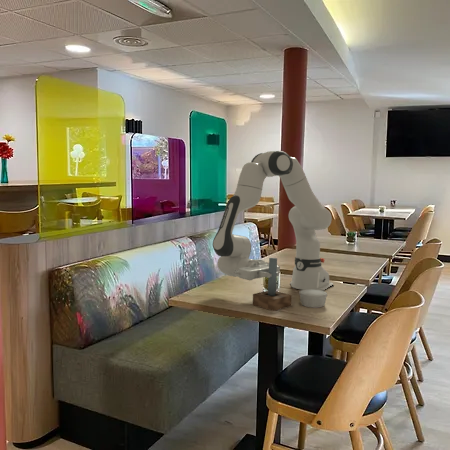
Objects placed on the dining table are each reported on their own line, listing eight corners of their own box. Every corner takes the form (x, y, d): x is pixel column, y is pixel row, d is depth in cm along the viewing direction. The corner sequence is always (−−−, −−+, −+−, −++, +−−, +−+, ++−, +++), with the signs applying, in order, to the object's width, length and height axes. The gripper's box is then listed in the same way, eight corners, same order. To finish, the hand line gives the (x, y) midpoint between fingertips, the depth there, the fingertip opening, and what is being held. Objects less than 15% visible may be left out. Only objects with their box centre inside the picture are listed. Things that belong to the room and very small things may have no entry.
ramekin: (296, 301, 194) (296, 289, 194) (322, 301, 195) (322, 289, 195) (302, 308, 183) (302, 295, 183) (330, 308, 184) (330, 295, 183)
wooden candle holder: (270, 300, 194) (270, 289, 194) (291, 305, 186) (291, 295, 186) (252, 305, 186) (252, 294, 186) (273, 310, 179) (274, 299, 178)
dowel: (271, 296, 188) (272, 257, 187) (277, 297, 186) (278, 258, 184) (266, 297, 186) (267, 258, 184) (272, 299, 184) (273, 259, 182)
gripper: (231, 264, 187) (257, 269, 177) (264, 259, 201) (290, 264, 191) (231, 279, 187) (256, 286, 177) (264, 273, 202) (289, 279, 192)
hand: (274, 274), depth 184 cm, fingers closed on dowel, 3 cm apart
